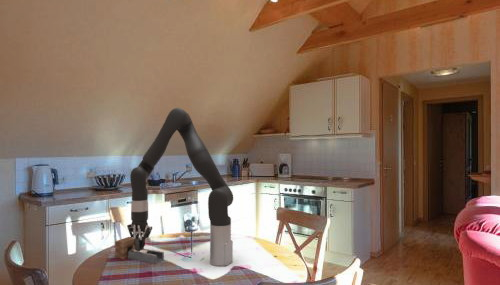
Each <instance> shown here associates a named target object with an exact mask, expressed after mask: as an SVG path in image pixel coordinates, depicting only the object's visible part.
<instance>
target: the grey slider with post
mask: <svg viewBox="0 0 500 285" xmlns="http://www.w3.org/2000/svg"><path fill="white" fill-rule="evenodd" d="M142 249H145V246H144V247H143V248H140V236H139V238H136V239H135V248H130V247H128V248H127V254H128V251H129V250H131V251H137V252H142V253H148V251H147V250H142Z"/></svg>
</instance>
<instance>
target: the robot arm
mask: <svg viewBox="0 0 500 285" xmlns="http://www.w3.org/2000/svg"><path fill="white" fill-rule="evenodd" d="M176 131H177V132H178V134H179V135H180V137H181V138H182V141H183V142H184V146H185V150H186V153H187V156H188V158H189V161H190V162H191V165H192V167H193V168H194V170H195V171H196V172H197V173H198V174H199V175H200V176H201V177H202V178H203V179H204V180H205V181H206V183H207V184H208V185H209V187H210V189H211V191H210V192H209V195H208V201H207V208H208V213H207V214H208V218H209V222H210V223H209V225H210V226H209V228H210V230H209V234H210V235H209V255H210V256H209V257H210V258H209V263H210V265H212V266H216V267H222V266H224V267H227V266H228V265H229V264H231V263H232V262H233V258H234V257H233V256H234V255H233V253H234V252H233V251H234V248H233V246H234V244H233V243H234V241H233V240H232V230H231V229H232V218H231V217H230V216H229V211H228V210H229V208H228V207H229V206H231V205H233V202H234V195H233V191H232V190H231V188H230V186H229V184H227V183H226V181H225V180H224V178H223V176H222V175H221V173H220V171H219V170H218V167H217V165H216V163H215V162H214V160H213V158H212V155H211V153H210V152H209V150H208V148H207V146H206V145H205V143H204V142H203V140H202V139H201V137H200V136H199V134H198V133H197V130H196V127H195V125H194V123H193V120H192V118H191V116H190V114H189V113H188V112H187V111H186V110H184V109H183V108H180V107H176V108H172V109H171V110H170V111H169V112H168V114H167V116H166V118H165V120H164V123H163V124H162V127H161V128H160V130H159V132H158V134H157V136H156V138H155V139H154V141H153V142H152V143H151V145H150V146H149V147H148V149H147V150H146V152H145V153H144V155H143V157H142V160H141V162H140V163H139V164H138V165H137V167H134V168H133V169H132V170H131V171H130V176H129V178H130V185H131V186H130V187H131V204H130V205H131V206H130V211H131V212H130V213H131V214H130V220H131V223H130V224H127V225H126V226H127V230H128V233H129V235H130V236H129V237H133V238H134V245H135V239H136V238H139V237H140V248H143V247H144V248H145V247H146V239H149V237H150V235H151V233H152V230H153V226H150V225H149V222H148V220H149V198H148V197H149V192H148V188H147V183H146V182H147V180H148V179H149V177H150V175H151V174H152V172H153V171H154V168H155V166H156V165H157V164H158V162H159V161H160V160H161V158H162V157H163V155H165V152H166V150H167V147H168V145H169V143H170V141H171V139H172V137H173V135H174V134H175V133H176Z"/></svg>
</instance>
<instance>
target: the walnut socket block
mask: <svg viewBox="0 0 500 285" xmlns="http://www.w3.org/2000/svg"><path fill="white" fill-rule="evenodd" d="M114 244H115V245H114V250H115V251H114V252H115V253H114V257H115V258H116V259H120V260H124V259H126V258H127V259H128V254H127V248H128V247H130V248H135V245H134V238H133V237H131V236H126V237H124V238H121V239H118V240H116V241H115V242H114Z"/></svg>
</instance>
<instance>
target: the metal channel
mask: <svg viewBox="0 0 500 285" xmlns="http://www.w3.org/2000/svg"><path fill="white" fill-rule="evenodd" d="M142 250H147V251H148V253H142V252H137V251H131V250H129V251H128V257H127V259H128V260H133V261H139V262H143V263H144V262H145V263H150V264H155V265H156V264H158V263H160V262H162V261H164V260H165V258H164V257H165V256H164V254H165V252H164V251H160V250H153V249H149V248H148V249H147V248H144V249H142Z"/></svg>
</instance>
